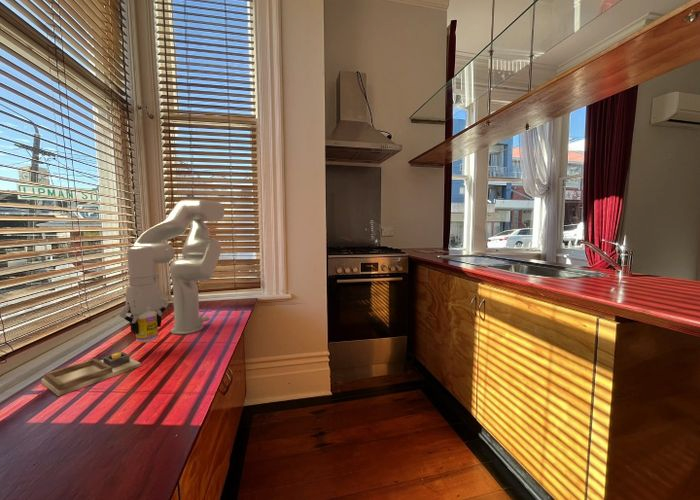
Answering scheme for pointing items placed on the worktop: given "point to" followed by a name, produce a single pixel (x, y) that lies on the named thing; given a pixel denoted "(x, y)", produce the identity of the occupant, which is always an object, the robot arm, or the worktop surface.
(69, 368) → the beige tray
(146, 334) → the supplement bottle
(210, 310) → the worktop surface
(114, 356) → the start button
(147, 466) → the worktop surface
